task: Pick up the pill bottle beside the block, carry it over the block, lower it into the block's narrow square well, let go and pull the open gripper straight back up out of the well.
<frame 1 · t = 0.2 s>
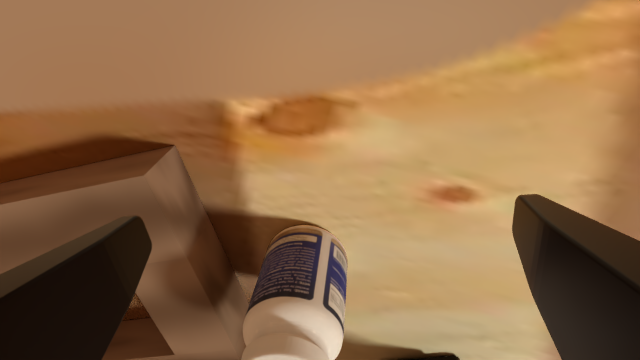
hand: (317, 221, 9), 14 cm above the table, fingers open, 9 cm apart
pill bottle: (308, 252, 28), on the table
well block: (127, 280, 31), on the table
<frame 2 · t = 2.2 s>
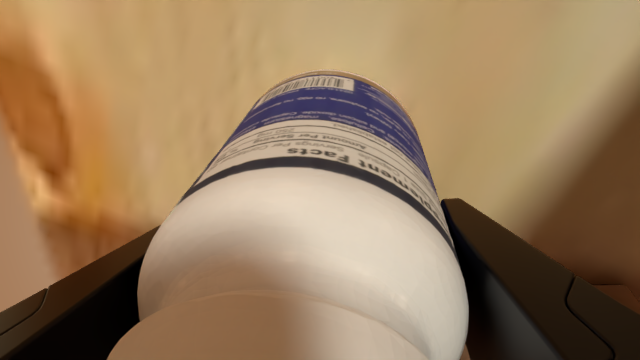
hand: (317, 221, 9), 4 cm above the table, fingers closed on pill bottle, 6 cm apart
pill bottle: (330, 150, 13), on the table, touching gripper
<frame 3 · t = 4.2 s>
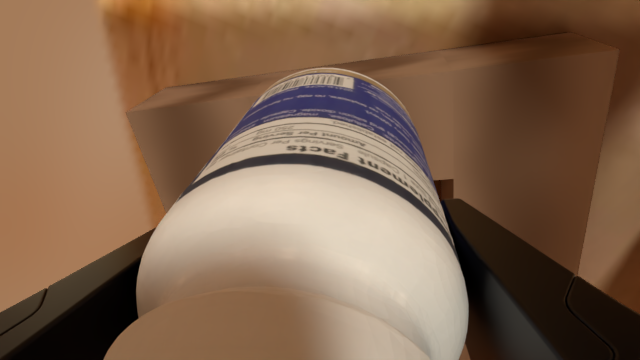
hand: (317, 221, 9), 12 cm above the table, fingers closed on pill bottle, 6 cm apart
pill bottle: (330, 148, 13), point 8 cm above the table, touching gripper
well block: (368, 214, 24), on the table
when the fingers open (5 cm above the table, at t = 6.3 s): pill bottle drops 1 cm, resting in well block.
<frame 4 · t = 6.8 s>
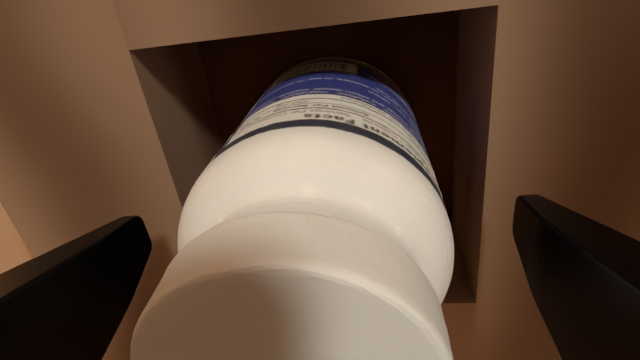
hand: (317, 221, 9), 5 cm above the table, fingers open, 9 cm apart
pill bottle: (335, 131, 14), resting in well block
well block: (334, 136, 14), on the table
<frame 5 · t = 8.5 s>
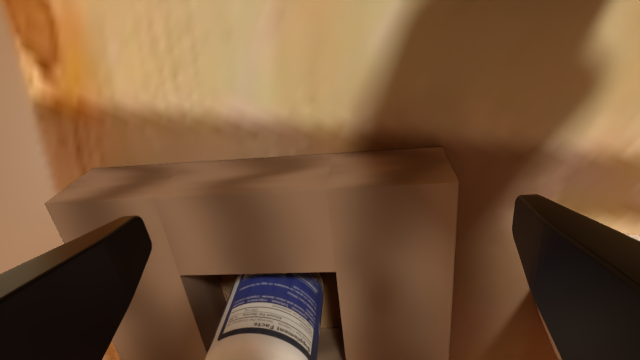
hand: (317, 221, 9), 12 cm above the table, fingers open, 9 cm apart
pill bottle: (282, 279, 26), resting in well block
well block: (281, 282, 26), on the table
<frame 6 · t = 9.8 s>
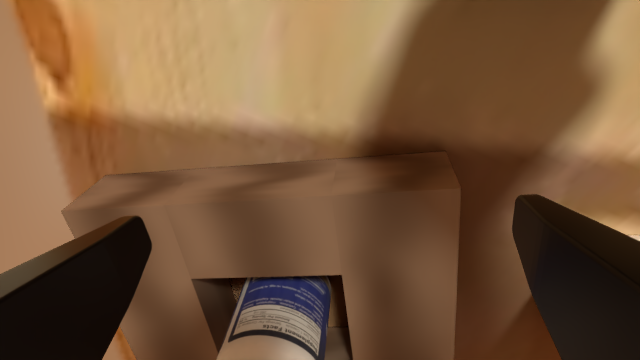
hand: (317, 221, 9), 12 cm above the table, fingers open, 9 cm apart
pill bottle: (290, 280, 27), resting in well block
well block: (289, 283, 27), on the table
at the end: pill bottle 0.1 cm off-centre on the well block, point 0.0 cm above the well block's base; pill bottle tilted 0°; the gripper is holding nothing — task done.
